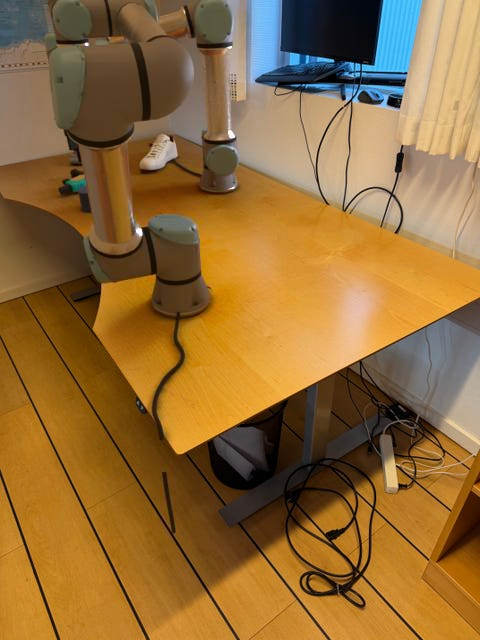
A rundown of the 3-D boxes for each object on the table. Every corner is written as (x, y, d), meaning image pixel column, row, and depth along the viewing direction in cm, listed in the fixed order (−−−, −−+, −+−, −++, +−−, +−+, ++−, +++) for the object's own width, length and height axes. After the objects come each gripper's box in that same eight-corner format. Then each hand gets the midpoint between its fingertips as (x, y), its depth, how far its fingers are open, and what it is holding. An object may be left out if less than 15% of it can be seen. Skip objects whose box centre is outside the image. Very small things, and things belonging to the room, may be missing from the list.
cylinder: (103, 209, 176) (99, 190, 172) (84, 213, 173) (80, 194, 169) (98, 203, 181) (94, 185, 177) (79, 207, 178) (75, 188, 174)
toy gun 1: (116, 157, 226) (102, 168, 214) (79, 155, 229) (64, 165, 217) (114, 149, 224) (100, 159, 212) (78, 147, 227) (62, 157, 215)
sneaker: (133, 173, 208) (129, 144, 201) (161, 153, 230) (158, 127, 223) (155, 175, 205) (151, 146, 198) (180, 155, 227) (178, 129, 220)
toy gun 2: (37, 182, 187) (65, 188, 181) (83, 164, 205) (110, 169, 200) (39, 193, 189) (67, 200, 184) (85, 174, 208) (111, 179, 202)
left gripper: (128, 63, 114) (140, 153, 126) (48, 58, 122) (67, 143, 135) (108, 68, 108) (123, 161, 121) (26, 62, 117) (48, 150, 129)
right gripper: (50, 83, 161) (64, 147, 174) (59, 97, 143) (73, 167, 155) (73, 81, 164) (85, 145, 176) (84, 95, 145) (96, 164, 158)
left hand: (93, 152), depth 128 cm, fingers open, 13 cm apart
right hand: (79, 155), depth 166 cm, fingers open, 13 cm apart
